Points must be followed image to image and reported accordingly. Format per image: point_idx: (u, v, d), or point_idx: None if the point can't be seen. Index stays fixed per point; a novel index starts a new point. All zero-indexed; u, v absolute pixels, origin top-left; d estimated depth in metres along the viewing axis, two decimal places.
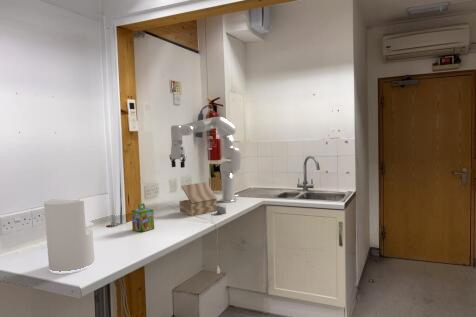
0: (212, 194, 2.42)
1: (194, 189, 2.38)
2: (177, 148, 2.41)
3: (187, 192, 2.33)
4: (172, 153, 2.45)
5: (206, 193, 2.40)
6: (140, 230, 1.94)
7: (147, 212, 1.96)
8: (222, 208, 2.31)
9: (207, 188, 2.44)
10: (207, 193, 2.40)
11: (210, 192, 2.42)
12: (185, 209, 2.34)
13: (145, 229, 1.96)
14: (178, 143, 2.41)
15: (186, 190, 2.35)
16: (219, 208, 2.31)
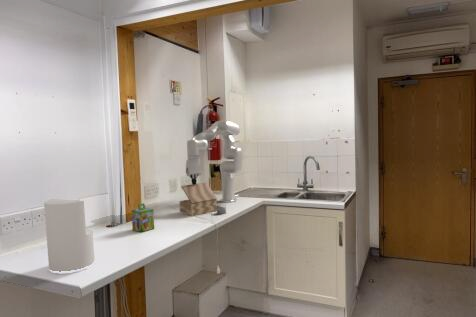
0: (212, 194, 2.42)
1: (194, 189, 2.38)
2: (198, 162, 2.42)
3: (187, 192, 2.33)
4: (191, 168, 2.38)
5: (206, 193, 2.40)
6: (140, 230, 1.94)
7: (147, 212, 1.96)
8: (222, 208, 2.31)
9: (207, 188, 2.44)
10: (207, 193, 2.40)
11: (210, 192, 2.42)
12: (185, 209, 2.34)
13: (145, 229, 1.96)
14: (198, 157, 2.42)
15: (186, 190, 2.35)
16: (219, 208, 2.31)
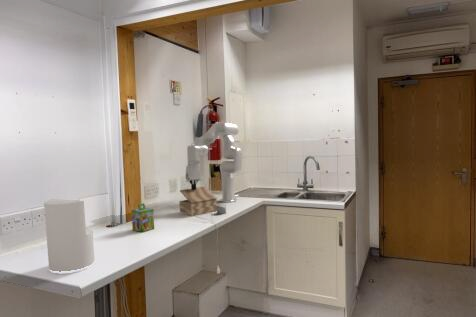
0: (211, 195, 2.42)
1: (193, 192, 2.40)
2: (198, 168, 2.42)
3: (186, 194, 2.35)
4: (191, 174, 2.38)
5: (205, 195, 2.41)
6: (140, 230, 1.94)
7: (147, 212, 1.96)
8: (222, 208, 2.31)
9: (206, 191, 2.46)
10: (206, 194, 2.41)
11: (209, 194, 2.43)
12: (185, 209, 2.34)
13: (145, 229, 1.96)
14: (198, 163, 2.42)
15: (185, 193, 2.36)
16: (219, 208, 2.31)
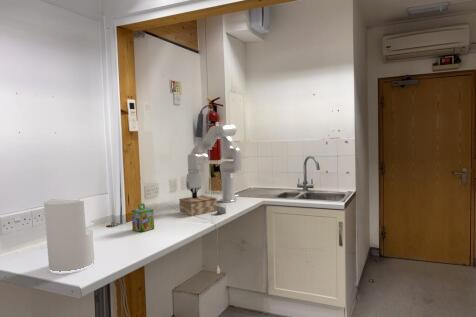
0: (211, 197, 2.43)
1: (192, 198, 2.41)
2: (199, 176, 2.42)
3: (185, 200, 2.36)
4: (192, 182, 2.39)
5: (204, 198, 2.41)
6: (140, 230, 1.94)
7: (147, 212, 1.96)
8: (222, 208, 2.31)
9: (205, 196, 2.47)
10: (206, 197, 2.42)
11: (209, 197, 2.44)
12: (185, 209, 2.34)
13: (145, 229, 1.96)
14: None
15: (184, 199, 2.38)
16: (219, 208, 2.31)
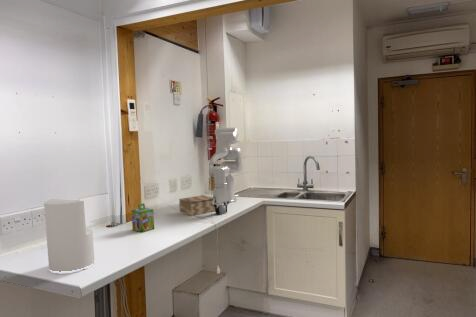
0: (211, 197, 2.43)
1: (192, 198, 2.41)
2: (226, 190, 2.33)
3: (185, 200, 2.36)
4: (219, 197, 2.30)
5: (204, 198, 2.41)
6: (140, 230, 1.94)
7: (147, 212, 1.96)
8: (222, 208, 2.31)
9: (205, 196, 2.47)
10: (206, 197, 2.42)
11: (209, 197, 2.44)
12: (185, 209, 2.34)
13: (145, 229, 1.96)
14: None
15: (184, 199, 2.38)
16: (219, 208, 2.31)
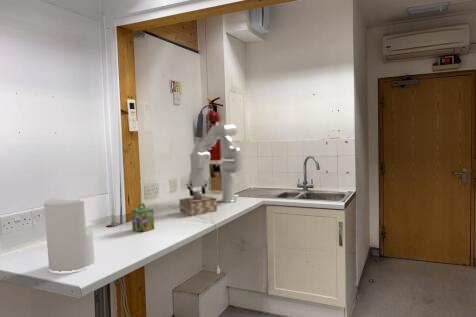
0: (211, 197, 2.43)
1: (192, 198, 2.41)
2: (202, 174, 2.40)
3: (185, 200, 2.36)
4: (195, 181, 2.36)
5: (204, 198, 2.41)
6: (140, 230, 1.94)
7: (147, 212, 1.96)
8: (198, 193, 2.38)
9: (205, 196, 2.47)
10: (206, 198, 2.42)
11: (209, 197, 2.44)
12: (185, 209, 2.34)
13: (145, 229, 1.96)
14: (201, 170, 2.40)
15: (184, 199, 2.38)
16: (195, 193, 2.38)
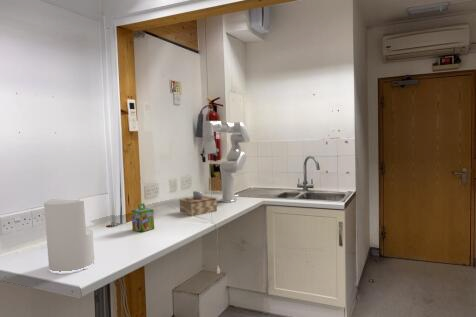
0: (211, 197, 2.43)
1: (192, 198, 2.41)
2: (214, 142, 2.54)
3: (185, 200, 2.36)
4: (207, 148, 2.50)
5: (204, 198, 2.41)
6: (140, 230, 1.94)
7: (147, 212, 1.96)
8: (198, 193, 2.38)
9: (205, 196, 2.47)
10: (206, 198, 2.42)
11: (209, 197, 2.44)
12: (185, 209, 2.34)
13: (145, 229, 1.96)
14: (213, 138, 2.54)
15: (184, 199, 2.38)
16: (195, 193, 2.38)
